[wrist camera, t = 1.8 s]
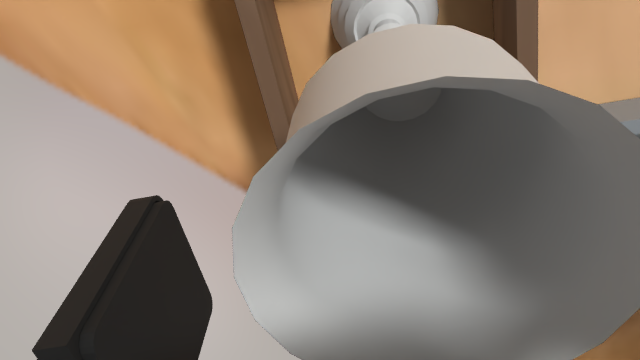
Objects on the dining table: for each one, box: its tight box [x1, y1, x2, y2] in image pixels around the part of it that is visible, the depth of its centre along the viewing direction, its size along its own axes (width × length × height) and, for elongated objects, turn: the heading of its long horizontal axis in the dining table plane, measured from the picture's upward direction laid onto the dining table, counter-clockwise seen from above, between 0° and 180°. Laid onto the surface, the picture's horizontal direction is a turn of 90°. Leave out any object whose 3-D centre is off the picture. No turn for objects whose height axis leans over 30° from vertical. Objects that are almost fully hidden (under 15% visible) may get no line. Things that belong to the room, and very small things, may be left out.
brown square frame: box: [234, 0, 538, 151], centre depth 22 cm, size 12×12×4 cm
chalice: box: [232, 0, 640, 360], centre depth 16 cm, size 7×7×18 cm
